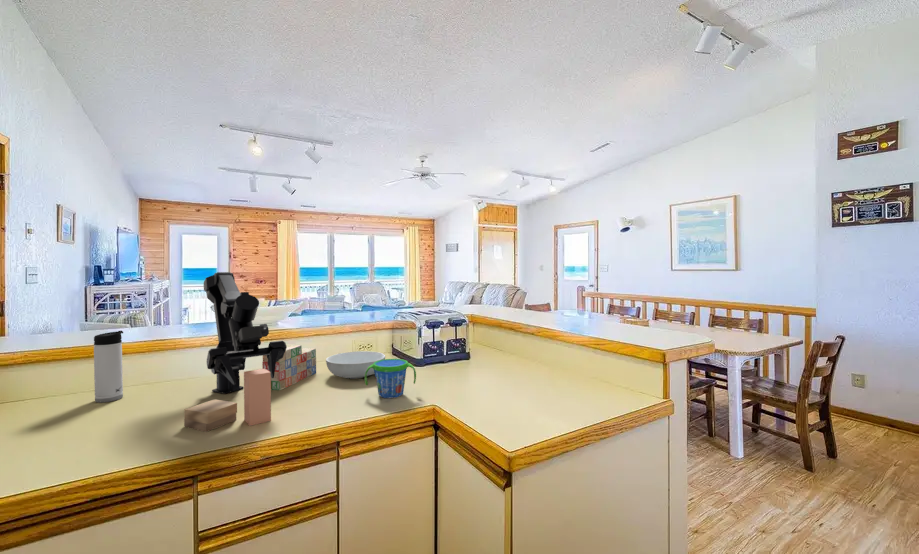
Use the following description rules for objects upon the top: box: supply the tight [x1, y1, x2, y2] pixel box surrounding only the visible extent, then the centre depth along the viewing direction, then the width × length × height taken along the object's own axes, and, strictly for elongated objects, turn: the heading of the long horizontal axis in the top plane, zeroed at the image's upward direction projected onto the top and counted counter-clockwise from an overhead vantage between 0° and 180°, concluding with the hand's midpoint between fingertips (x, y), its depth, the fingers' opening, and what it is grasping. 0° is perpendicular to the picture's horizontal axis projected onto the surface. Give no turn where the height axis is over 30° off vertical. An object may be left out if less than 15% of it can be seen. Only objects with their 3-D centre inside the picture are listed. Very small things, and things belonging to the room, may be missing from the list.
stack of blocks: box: [261, 344, 317, 391], centre depth 138 cm, size 21×6×12 cm, turn 168°
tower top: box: [183, 399, 238, 424], centre depth 100 cm, size 8×8×2 cm
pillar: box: [243, 368, 272, 427], centre depth 102 cm, size 5×5×12 cm
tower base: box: [183, 413, 237, 433], centre depth 101 cm, size 8×8×2 cm
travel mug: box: [93, 330, 124, 403], centre depth 118 cm, size 6×7×20 cm
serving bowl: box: [325, 350, 386, 380], centre depth 145 cm, size 21×21×7 cm
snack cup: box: [364, 358, 417, 399], centre depth 123 cm, size 16×10×10 cm
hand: (254, 380), depth 104 cm, fingers open, 9 cm apart
